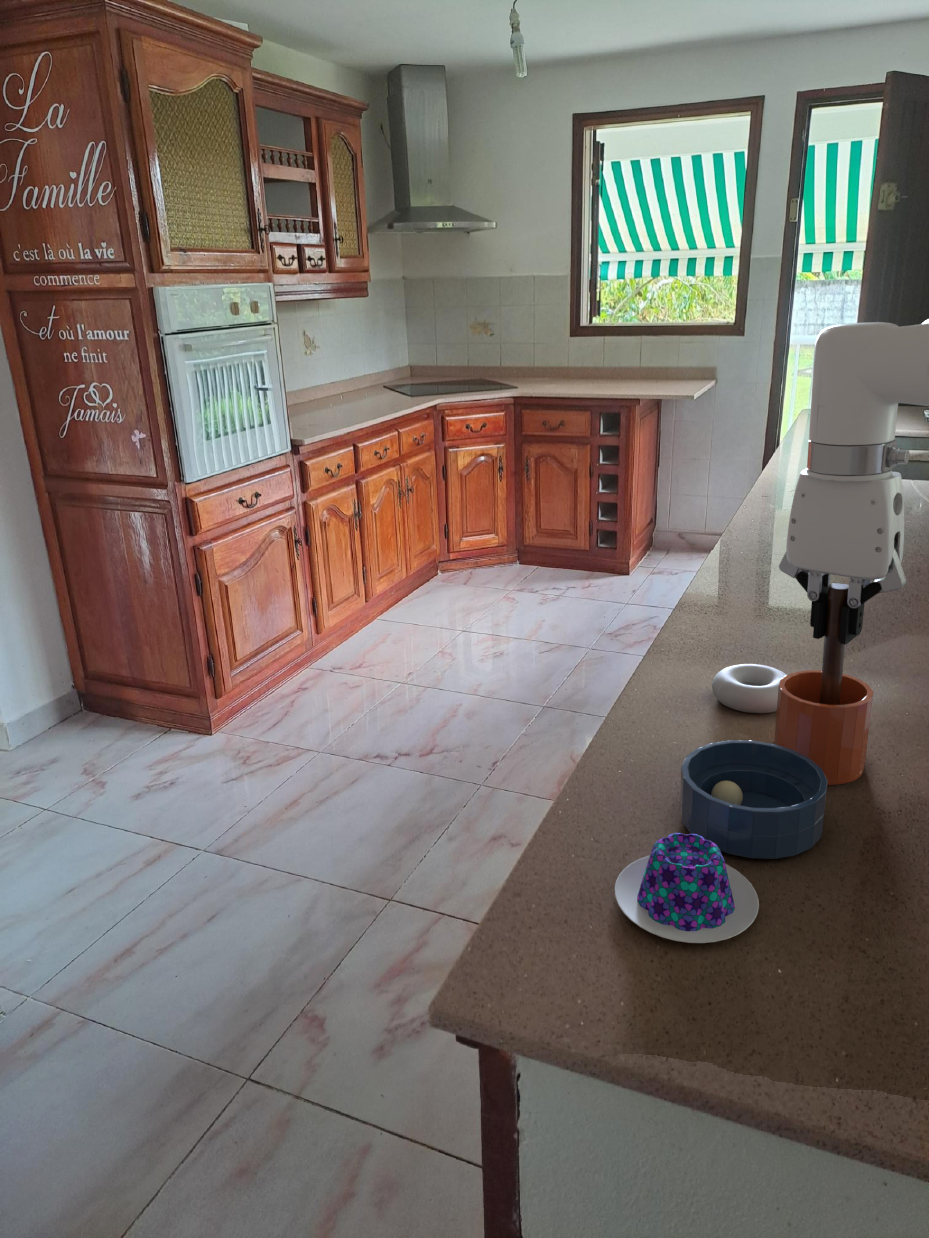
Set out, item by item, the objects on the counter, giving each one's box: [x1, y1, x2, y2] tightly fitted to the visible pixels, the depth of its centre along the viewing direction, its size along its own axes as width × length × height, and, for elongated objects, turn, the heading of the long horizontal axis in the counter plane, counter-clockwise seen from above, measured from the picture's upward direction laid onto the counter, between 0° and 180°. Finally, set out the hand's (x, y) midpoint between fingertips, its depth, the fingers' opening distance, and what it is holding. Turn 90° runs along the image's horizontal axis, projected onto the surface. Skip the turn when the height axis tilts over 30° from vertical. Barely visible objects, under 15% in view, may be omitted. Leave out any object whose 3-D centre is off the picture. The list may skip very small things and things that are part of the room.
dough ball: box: [711, 781, 743, 805], centre depth 87 cm, size 3×3×3 cm
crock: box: [773, 669, 874, 786], centre depth 94 cm, size 9×9×9 cm
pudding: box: [614, 832, 760, 944], centre depth 75 cm, size 12×12×5 cm
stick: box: [819, 582, 849, 705], centre depth 92 cm, size 2×2×18 cm
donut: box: [711, 663, 787, 714], centre depth 110 cm, size 10×4×10 cm
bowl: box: [679, 739, 828, 860], centre depth 85 cm, size 13×13×6 cm
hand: (835, 636), depth 90 cm, fingers closed on stick, 2 cm apart
